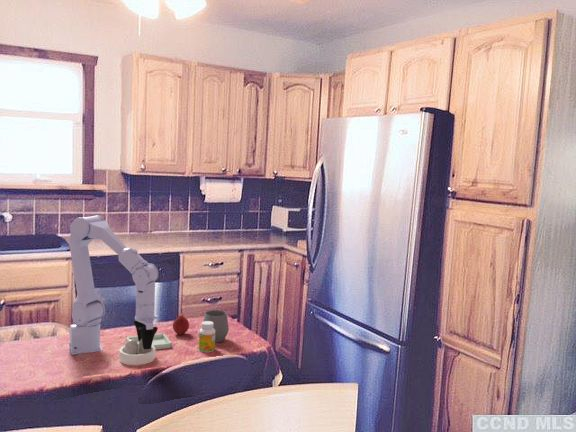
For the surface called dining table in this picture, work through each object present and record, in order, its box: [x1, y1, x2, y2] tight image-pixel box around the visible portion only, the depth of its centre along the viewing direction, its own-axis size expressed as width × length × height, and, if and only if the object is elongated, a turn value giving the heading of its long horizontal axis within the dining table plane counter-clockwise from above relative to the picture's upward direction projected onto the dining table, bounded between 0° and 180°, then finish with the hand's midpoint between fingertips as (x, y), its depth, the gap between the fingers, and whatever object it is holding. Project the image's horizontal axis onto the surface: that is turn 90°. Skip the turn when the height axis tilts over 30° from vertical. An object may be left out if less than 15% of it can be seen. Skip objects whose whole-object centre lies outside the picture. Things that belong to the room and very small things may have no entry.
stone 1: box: [124, 339, 138, 355], centre depth 170 cm, size 4×4×6 cm
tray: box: [125, 332, 173, 350], centre depth 184 cm, size 13×11×2 cm
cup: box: [202, 309, 230, 343], centre depth 192 cm, size 10×9×10 cm
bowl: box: [118, 343, 157, 366], centre depth 171 cm, size 11×11×4 cm
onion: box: [172, 313, 190, 336], centre depth 196 cm, size 6×6×8 cm
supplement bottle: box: [198, 320, 216, 353], centre depth 182 cm, size 5×5×10 cm
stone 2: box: [139, 339, 151, 354], centre depth 172 cm, size 4×4×6 cm
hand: (144, 344), depth 172 cm, fingers open, 7 cm apart
